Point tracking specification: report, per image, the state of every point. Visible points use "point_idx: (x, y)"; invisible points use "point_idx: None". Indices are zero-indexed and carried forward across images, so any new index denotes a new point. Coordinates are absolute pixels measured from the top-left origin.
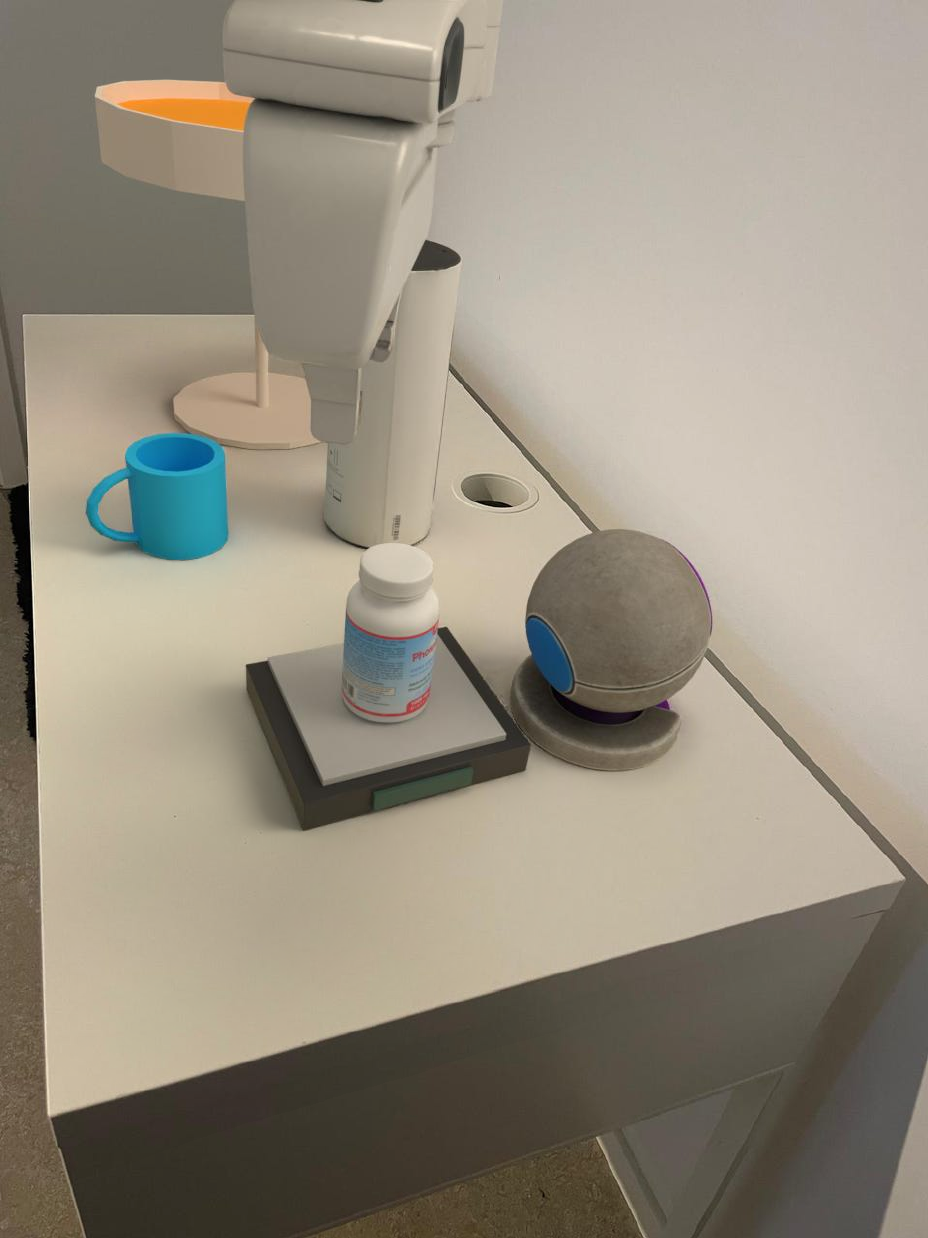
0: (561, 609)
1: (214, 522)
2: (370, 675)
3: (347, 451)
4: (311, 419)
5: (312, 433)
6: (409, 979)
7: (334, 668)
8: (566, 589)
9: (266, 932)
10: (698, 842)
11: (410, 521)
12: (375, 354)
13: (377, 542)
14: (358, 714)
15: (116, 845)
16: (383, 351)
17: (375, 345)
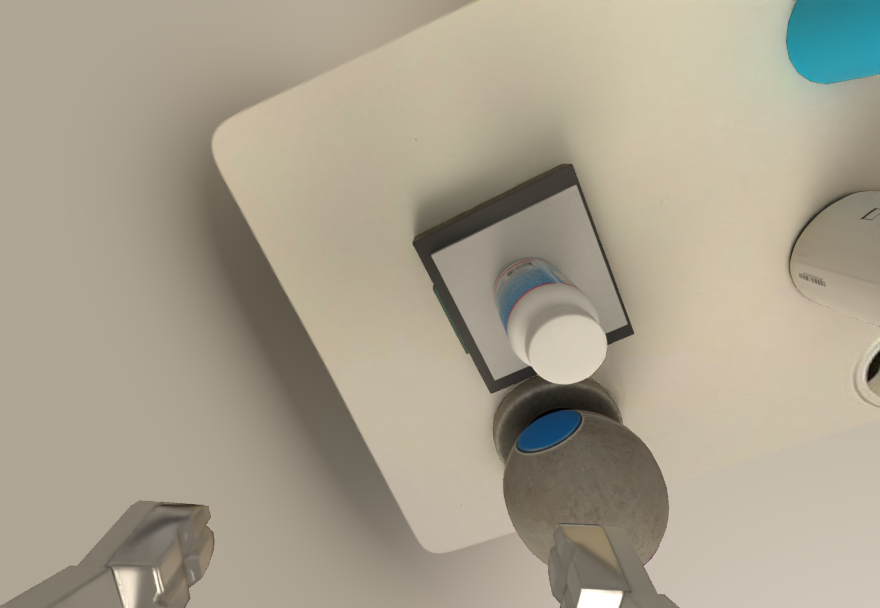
0: (554, 466)
1: (837, 67)
2: (503, 296)
3: None
4: (113, 525)
5: (136, 503)
6: (315, 314)
7: (563, 246)
8: (570, 479)
9: (330, 226)
10: (438, 471)
11: (819, 294)
12: (554, 561)
13: (797, 256)
14: (500, 275)
15: (382, 102)
16: (554, 581)
17: (562, 577)
